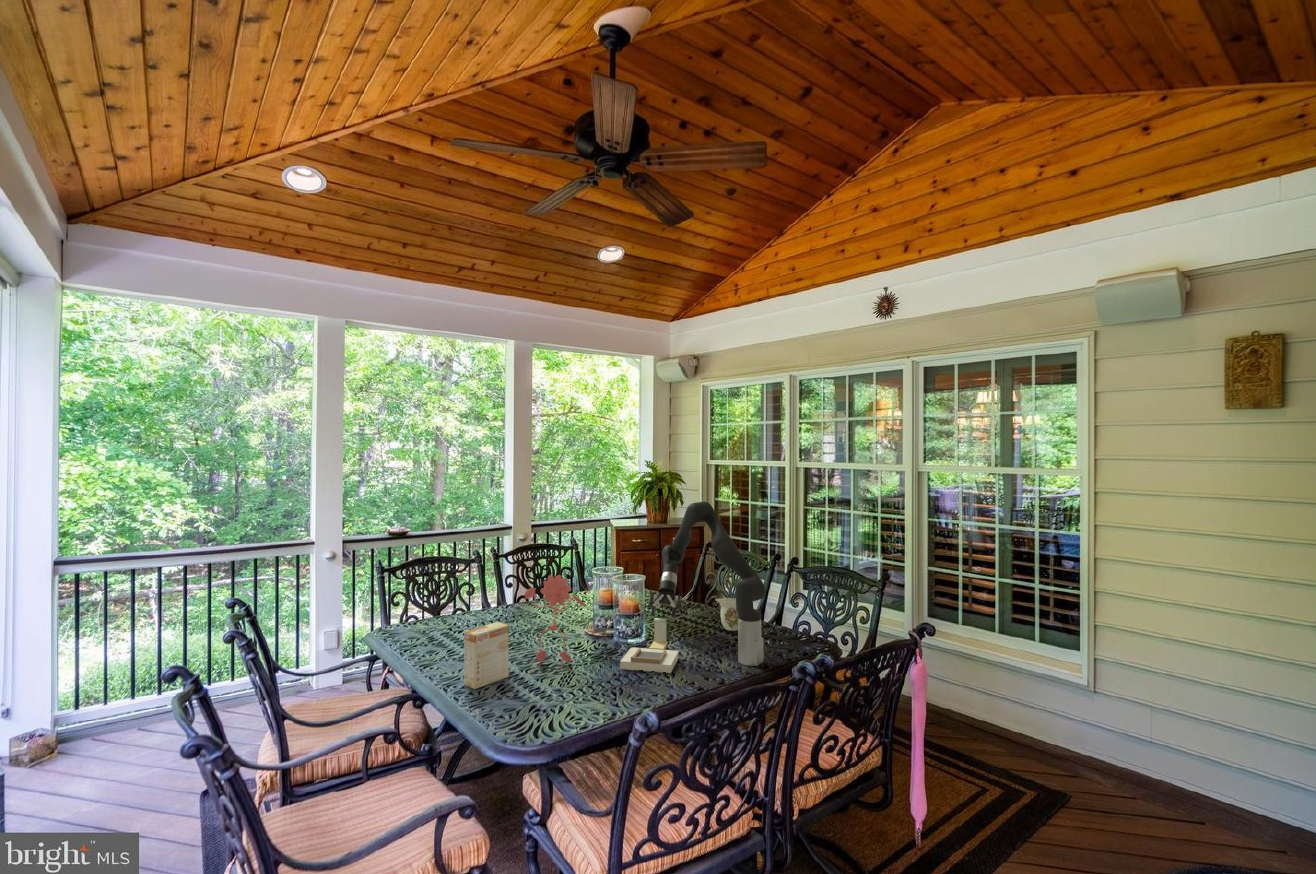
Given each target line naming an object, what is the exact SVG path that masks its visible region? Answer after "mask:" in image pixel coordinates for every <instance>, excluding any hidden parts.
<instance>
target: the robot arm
mask: <svg viewBox="0 0 1316 874" xmlns="http://www.w3.org/2000/svg"><path fill="white" fill-rule="evenodd" d="M702 523H705V524H706V525H707V526H708V528H709V530H710V532H711V536H710V537H711V540H710V542H711V543H710V544H711V549H712V550H713V552H714V554H715V555H716V558H717V559H718V560H719V562H721V564H723V566H724V565H725V566H726V567H727V568H728V569H730V570H731V571H733V572H734V573H736V575H737V576H739V577H740V579H739V580H738V581H737V582H736V584H735V588H734V595H735V598H736V610H737V613H738V630H737V634H738V635H737V640H738V641H737V643H738V644H737V648H738V649H737V650H738V651H737V653H738V654H737V657H738V658H737V659H738V663H739V664H741V665H744V666H750V667H751V666H753V667H754V666H755V667H758V666H759V665H761V664H762V663H764V660H765V658H764V637H762V611H760V610H759V609H756V608H754V603H753V602H757V601H760V600H762V599H764V598H765V597H766V594H767V593H766V592H767V591H766V586H765V584H764V582H763V580H762V579H761V577H760V576H759V575H758V574H757V572H756V571H755V570H754V569H753V568H752V567H751V565H750V564H749V562H748V561H747V560H746V558H745V557H744V555H743V554H742V552H741V551H740V550H739V548H738V547H737V545H736V544H735V542H734V541H733V539H732V538H731V536H730V535H729V533H728V532H727V531H726V529H725V527H724V526H723V524H722V522H721V520H720V519H719V517H718V514H717V513H716V510H715V509H714V508H713V506H712V504H710V502H708V501H698V502H692V503H689V504H688V506H687V508H686V510H685V512H684V516H683V519H682V521H681V525H680V527H679V529H678V531H677V533H676V535H675V536H674V538H673V540H672V542H671V544H666V545H665V546H664V547H663V548H662V552H661V556H662V557H661V558H662V564H663V565H662V566H663V569H662V575H661V577H660V581H659V582H660V583H659V587H658V593H655V594H654V593H653V592H652V593H650V597H649V602H648V606H649V608H650V609H651V615H652V617H655V616H656V612H657V608H658V607H660V606H661V605H663V606H664V605H666V606H669V605H670V606H671V607H672V610H671V613H670V614H671V618H672V619H673V618H674V617H676V614H677V610H681V609H682V595H681V594H678V595H676V590H677V584H678V583H677V582H678V573H679V565H678V564H680V563H682V562H683V561H684V558H685V551H686V549H687V547H688V546H689V544H690V542H691V541H692V537H693V536H692V535H693V533H692V528H693V526H695V525H696V524H702ZM675 600H676V601H677V604H675V602H674V601H675ZM654 601H655V602H654Z"/></svg>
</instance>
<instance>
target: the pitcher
mask: <svg viewBox="0 0 1316 874" xmlns="http://www.w3.org/2000/svg"><path fill="white" fill-rule="evenodd" d="M715 601H716V602H718V604H719V605H720V620H721V624H722V626H723V627H724V629H725V630H727V631H729V632H735V631H737V632H738V613H737V610H736V597H735V598H734V597H724V598H715Z"/></svg>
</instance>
